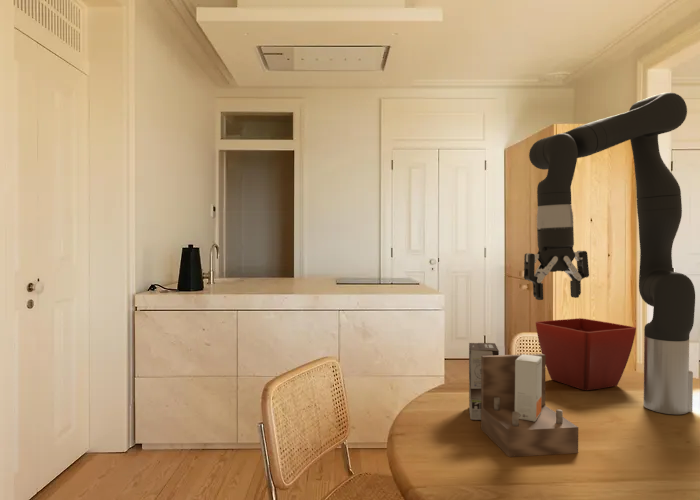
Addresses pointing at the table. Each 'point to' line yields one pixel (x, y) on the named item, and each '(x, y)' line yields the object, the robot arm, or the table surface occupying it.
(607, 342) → the plant pot
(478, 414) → the coffee box
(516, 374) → the skincare box
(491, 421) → the peg shelf stand
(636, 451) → the table surface
